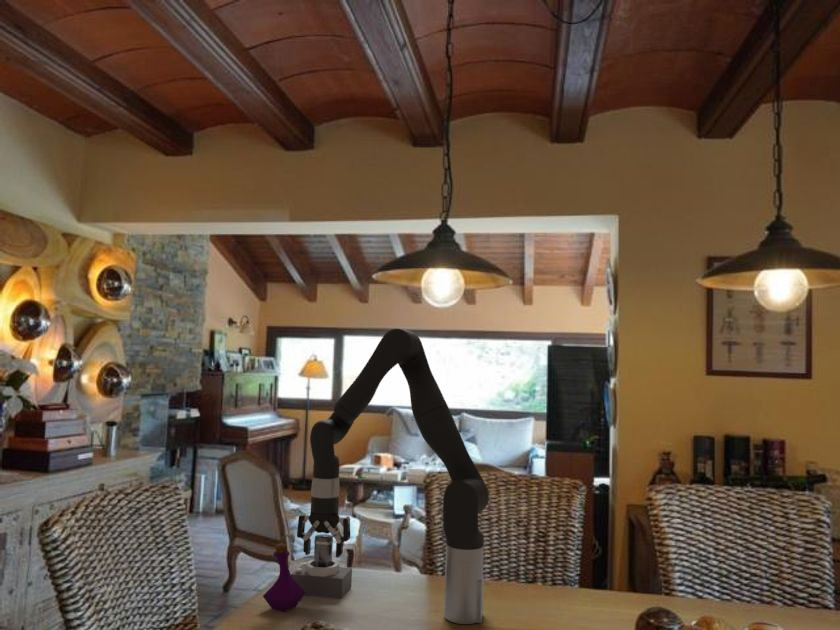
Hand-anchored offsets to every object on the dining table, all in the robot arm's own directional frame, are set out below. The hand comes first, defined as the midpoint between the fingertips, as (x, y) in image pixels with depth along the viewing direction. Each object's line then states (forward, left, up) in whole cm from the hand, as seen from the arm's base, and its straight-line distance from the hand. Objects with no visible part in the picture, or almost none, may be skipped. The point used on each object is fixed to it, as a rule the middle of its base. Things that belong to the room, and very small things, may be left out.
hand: (322, 555), depth 171 cm
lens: (0, 0, -4) cm, 4 cm away
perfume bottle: (+5, +14, -9) cm, 18 cm away
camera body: (0, 0, -9) cm, 9 cm away
